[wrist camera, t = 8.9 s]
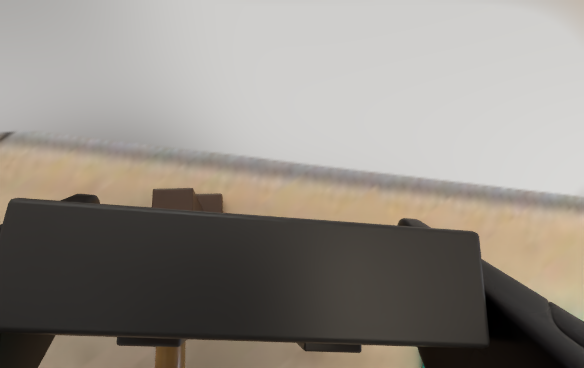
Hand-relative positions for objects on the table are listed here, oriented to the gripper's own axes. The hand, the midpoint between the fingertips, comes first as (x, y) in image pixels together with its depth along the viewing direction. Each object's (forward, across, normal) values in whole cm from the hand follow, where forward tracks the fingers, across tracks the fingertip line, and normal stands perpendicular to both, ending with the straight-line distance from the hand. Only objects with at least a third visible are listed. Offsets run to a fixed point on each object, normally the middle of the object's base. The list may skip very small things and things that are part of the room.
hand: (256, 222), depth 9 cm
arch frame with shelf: (+4, 0, +6) cm, 7 cm away
